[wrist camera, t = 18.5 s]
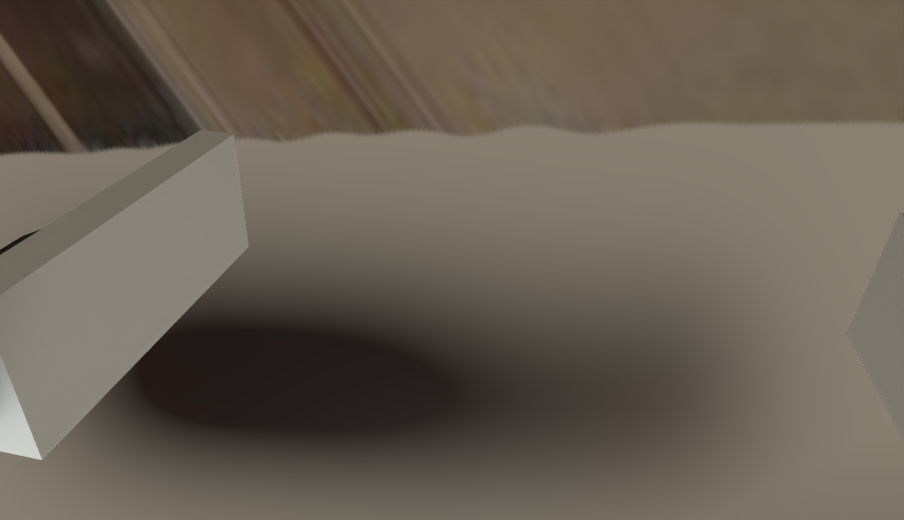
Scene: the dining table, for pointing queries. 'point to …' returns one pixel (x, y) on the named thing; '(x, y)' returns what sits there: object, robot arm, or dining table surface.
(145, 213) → the robot arm
